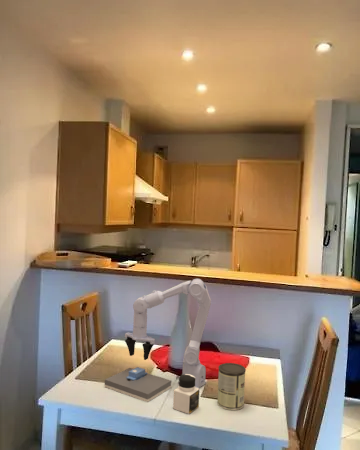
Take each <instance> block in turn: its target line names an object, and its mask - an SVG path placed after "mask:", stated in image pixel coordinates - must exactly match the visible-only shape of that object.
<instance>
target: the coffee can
mask: <svg viewBox="0 0 360 450" xmlns="http://www.w3.org/2000/svg"><path fill="white" fill-rule="evenodd" d="M246 370H247V369H246V366H244V365H241V364H239V363H234V362H233V363H232V362H226V363H221V364H219V365H218V376H217V377H218V379H217V380H218V382H217V406H218V407H219V408H220V409H223V410H228V411H238V410H241V409H243V408H244V407H245V403H244V402H245V388H246V387H245V386H246V385H245V384H246Z"/></svg>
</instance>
